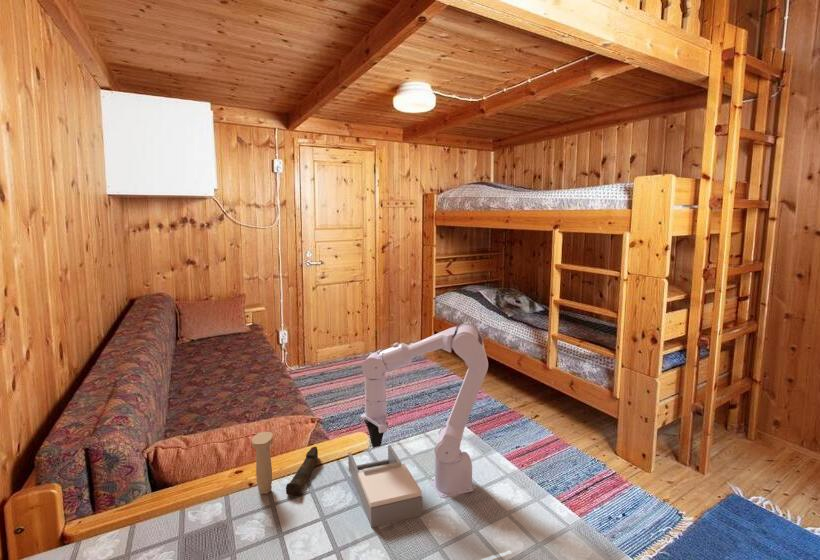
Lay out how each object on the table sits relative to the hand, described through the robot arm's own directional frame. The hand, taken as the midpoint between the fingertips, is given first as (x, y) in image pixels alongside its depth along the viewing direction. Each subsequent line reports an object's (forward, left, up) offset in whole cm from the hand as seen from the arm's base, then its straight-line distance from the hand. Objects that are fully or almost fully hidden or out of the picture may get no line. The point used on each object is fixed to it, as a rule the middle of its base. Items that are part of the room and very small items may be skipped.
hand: (376, 445), depth 116 cm
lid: (0, +12, -5) cm, 13 cm away
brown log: (+19, -9, -10) cm, 23 cm away
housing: (0, +5, -10) cm, 11 cm away
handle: (+29, -5, -10) cm, 31 cm away
